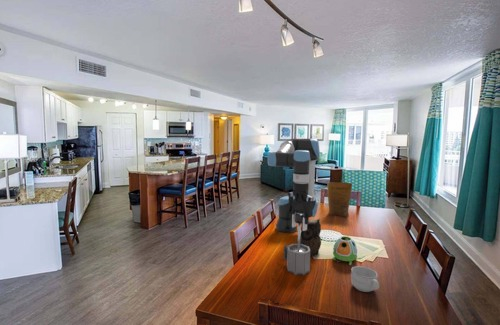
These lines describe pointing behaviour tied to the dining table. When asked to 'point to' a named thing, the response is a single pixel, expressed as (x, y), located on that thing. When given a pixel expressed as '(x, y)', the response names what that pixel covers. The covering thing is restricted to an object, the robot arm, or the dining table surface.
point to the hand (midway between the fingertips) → (299, 228)
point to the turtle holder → (345, 249)
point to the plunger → (299, 231)
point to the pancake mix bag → (339, 198)
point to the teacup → (364, 279)
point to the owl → (311, 236)
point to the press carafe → (297, 259)
